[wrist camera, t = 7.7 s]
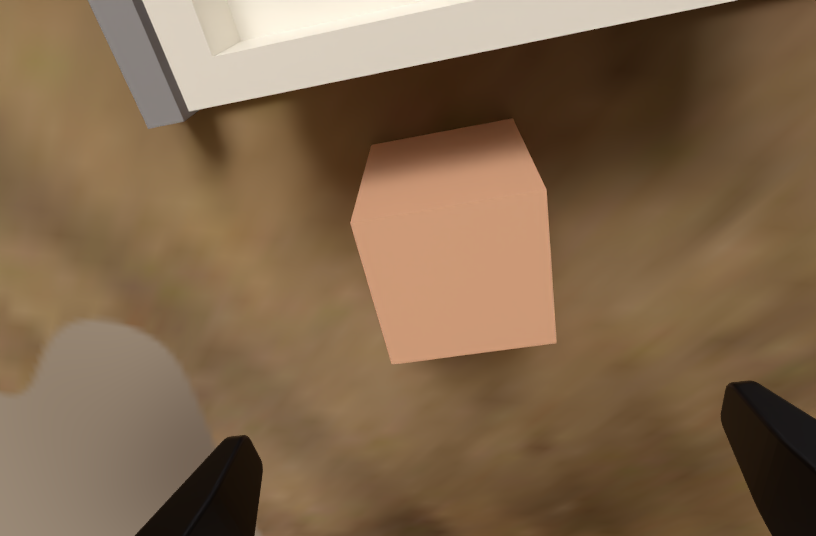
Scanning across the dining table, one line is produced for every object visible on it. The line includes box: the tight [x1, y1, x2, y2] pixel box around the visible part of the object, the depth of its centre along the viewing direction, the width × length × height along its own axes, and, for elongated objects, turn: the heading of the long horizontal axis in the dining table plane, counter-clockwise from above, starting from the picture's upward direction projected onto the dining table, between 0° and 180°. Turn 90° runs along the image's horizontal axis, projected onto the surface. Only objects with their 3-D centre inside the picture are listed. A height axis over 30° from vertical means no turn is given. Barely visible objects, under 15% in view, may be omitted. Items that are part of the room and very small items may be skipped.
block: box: [350, 118, 557, 364], centre depth 17 cm, size 5×5×6 cm
